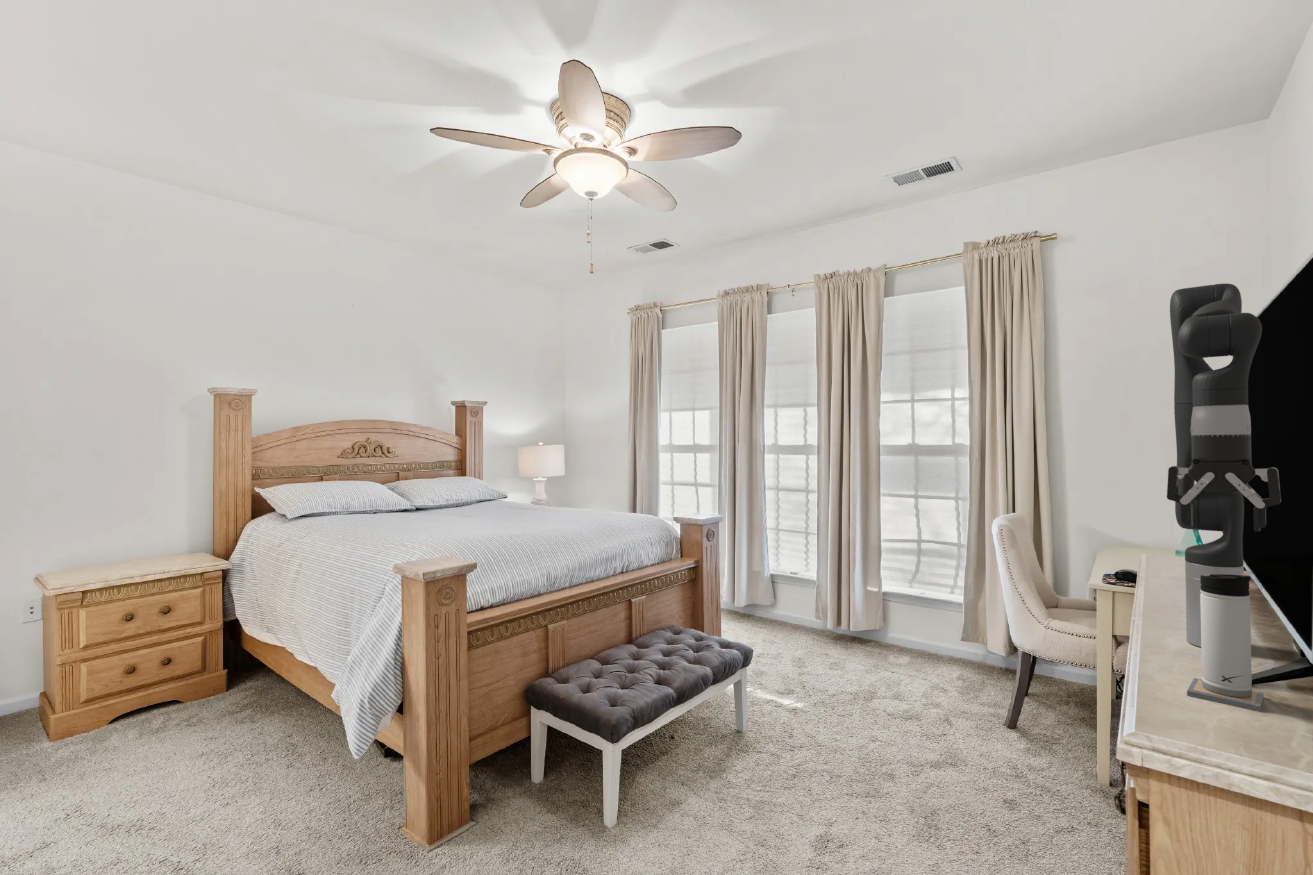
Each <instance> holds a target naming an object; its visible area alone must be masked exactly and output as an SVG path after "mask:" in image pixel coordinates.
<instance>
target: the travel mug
mask: <svg viewBox="0 0 1313 875" xmlns="http://www.w3.org/2000/svg"><path fill="white" fill-rule="evenodd" d="M1251 581H1252V576H1251V575H1246V574H1245V575H1244V576H1243V575H1227V574H1211V575H1210V576H1204V575H1201V576H1200V583H1201V589H1200V592H1201V594H1200V605H1201V647H1200V650H1201V654H1200V655H1201V676H1202V677H1201V680H1202V686H1203V687H1204V688H1205V689H1207V690H1209V691H1211V692H1214V693H1217V694H1220V695H1224V696H1230V697H1238V698H1245V697H1249V696H1251V695H1252V690H1253V687H1252V683H1253V682H1252V681H1253V680H1252V678H1253V677H1252V672H1253V671H1252V670H1253V669H1252V635H1251V634H1252V633H1251V632H1252V631H1251V630H1252V628H1251V625H1252V623H1251V622H1252V621H1251V599H1250V598H1251V594H1250V582H1251Z"/></svg>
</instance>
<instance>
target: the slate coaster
mask: <svg viewBox="0 0 1313 875" xmlns="http://www.w3.org/2000/svg"><path fill="white" fill-rule="evenodd" d="M1186 696H1188V697H1192V698H1193V697H1194V698H1198V699H1201V700H1207V701H1211V702H1215V703H1220V704H1225V705H1229V706H1233V707H1238V708H1242V709H1247V710H1251V711H1257V712H1261V710H1262V706H1263V703H1264V699H1265V692H1263V691H1261V690H1254V689H1252V695H1251V696H1249V697H1245V698H1238V697H1230V696H1224V695H1220V694H1217V693H1214V692H1211V691H1209V690H1207V689H1205V688H1204V687H1203V686H1202V678H1201V679H1200V678H1193V679H1192V681H1191V682H1190V685H1189V687H1188V688H1187V690H1186Z"/></svg>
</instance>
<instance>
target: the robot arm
mask: <svg viewBox="0 0 1313 875" xmlns="http://www.w3.org/2000/svg"><path fill="white" fill-rule="evenodd" d="M1242 304H1243V301H1242V294H1241V292H1240V290H1239V288H1238V287H1237V286H1236V285H1235V284H1233V283H1215V284H1208V285H1200V286H1194V287H1193V286H1192V287H1191V286H1190V287H1186V288H1179V289H1176V290H1174V291H1173V293H1172V294H1171V297H1170V302H1169V318H1170V319H1169V321H1170V329H1171V338H1172V348H1173V350H1172V351H1173V362H1174V364H1173V365H1174V366H1173V367H1174V389H1173V390H1174V391H1173V392H1174V395H1173V398H1174V400H1173V401H1174V402H1173V403H1174V405H1173V409H1174V411H1173V412H1174V414H1173V415H1174V426H1175V428H1174V429H1175V444H1176V445H1175V446H1176V465H1173V466H1169V467H1168V469H1167V470H1168V471H1167V484H1166V485H1167V489H1166V499H1167V500H1169V501H1172V502H1175V503H1174V504H1175V506H1174V511H1175V520H1176V522H1177V524H1178V526H1179V527H1180V528H1181V529H1186V530H1193V531H1194V530H1197V531H1207V532H1211V531H1212V532H1222V535H1221V536H1220V537H1219V538H1217V539H1215V540H1213V541H1210V542H1206V543H1202V544H1197V545H1192V546H1189V547H1186V549H1185V550H1184V563H1185V564H1184V567H1185V569H1184V571H1185V619H1186V620H1185V621H1186V622H1185V625H1186V626H1185V628H1186V630H1185V631H1186V632H1185V633H1186V642H1187V643H1188V644H1191V645H1193V646H1195V647H1196V646H1197V647H1198V648H1199V647H1200V648H1201V605H1200V594H1201V592H1200V589H1201V583H1200V576H1201V575H1204V576H1210V575H1211V574H1227V575H1243V576H1245V575H1244V571H1245V570H1244V569H1245V568H1244V565H1245V564H1244V549H1243V548H1244V547H1243V546H1244V544H1243V543H1244V542H1243V540H1244V538H1243V537H1244V536H1243V535H1244V522H1245V500H1244V497H1245V498H1246V499H1247V500H1249V502H1250V503H1252V504H1253V506H1254V507H1253V509H1252V510H1253V531H1255V532H1260V531H1261V530H1262V529H1265V527H1266V525H1267V508H1269V507H1272V506H1278V505H1280V504H1281V502H1282V495H1281V494H1282V493H1281V485H1280V476H1279V470H1278V468H1277V467H1273V466H1272V467H1269V468H1255V467H1254V466H1253V464H1252V425H1251V424H1252V423H1251V422H1252V420H1251V414H1250V408H1249V378H1250V377H1249V375H1250V371H1251V370H1250V369H1251V366H1252V362H1253V359H1254V355H1255V354H1256V350H1257V349H1258V345H1259V342H1260V340H1261V337H1262V333H1263V325H1262V323H1261V320H1260V319H1259V317H1257V316H1256V315H1254V314H1253V313H1251V312H1242V307H1243V306H1242ZM1218 357H1232V360H1231V362H1230V363H1228V364H1227V365H1225V366H1223V367H1221V368H1217V369H1213V368H1212V367H1211V366H1210V364H1209V363H1207V361H1206V360H1205V359H1204V358H1218ZM1256 475H1257V476H1259V477H1260V479H1261V481H1264V482H1267V485H1268V494H1269V495H1268V496H1269V497H1268V498H1262V497H1261V496H1260V495H1259V494H1258V493H1257V492H1256V490H1254V489H1253V488H1252V486H1250V484H1248V483H1249V482H1250V481H1251V480H1252V479H1253V478H1255V476H1256ZM1243 496H1244V497H1243ZM1261 528H1262V529H1261Z"/></svg>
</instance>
